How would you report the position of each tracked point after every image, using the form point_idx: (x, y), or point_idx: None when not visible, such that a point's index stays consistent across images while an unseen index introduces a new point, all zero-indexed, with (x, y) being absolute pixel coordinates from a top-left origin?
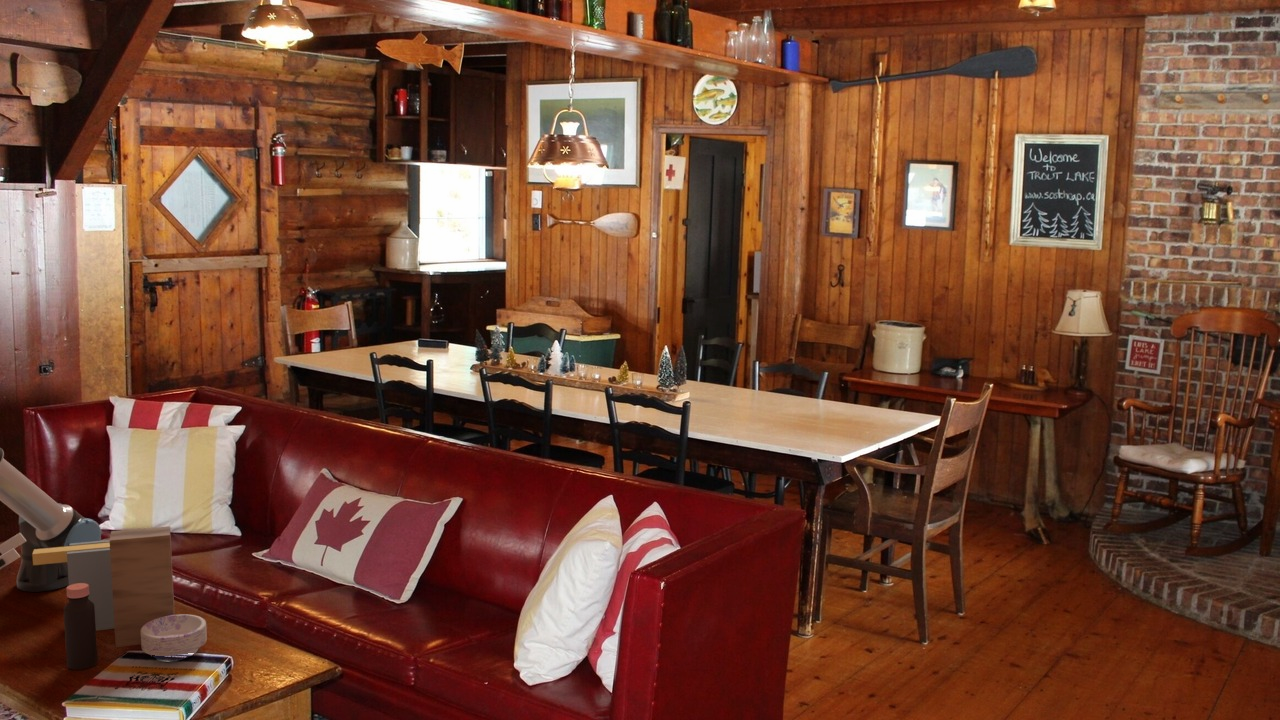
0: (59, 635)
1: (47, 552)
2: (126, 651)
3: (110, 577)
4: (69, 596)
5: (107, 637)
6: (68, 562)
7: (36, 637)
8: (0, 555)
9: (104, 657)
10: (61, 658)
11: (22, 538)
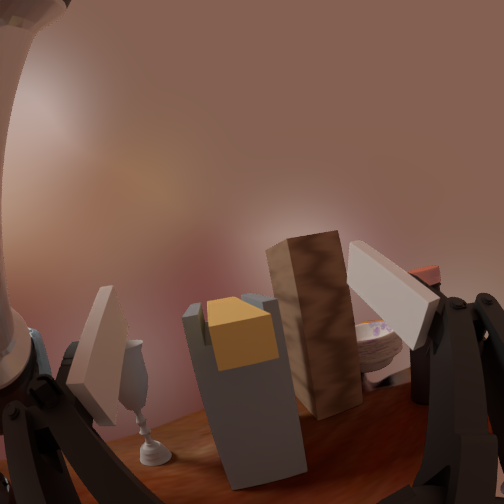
0: (319, 483)
1: (258, 309)
2: (373, 390)
3: None
4: (440, 277)
5: (325, 426)
6: (281, 322)
7: None
8: (99, 435)
9: (399, 394)
10: (424, 422)
11: (121, 312)
